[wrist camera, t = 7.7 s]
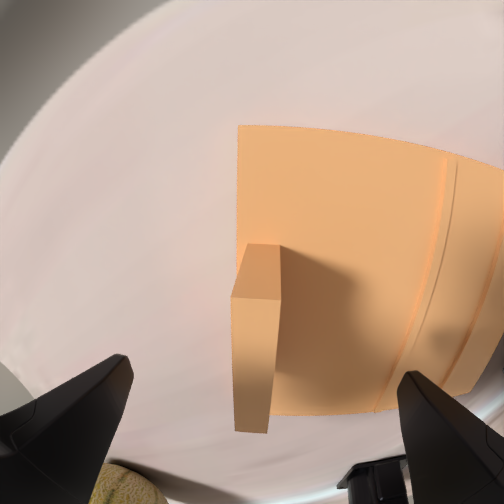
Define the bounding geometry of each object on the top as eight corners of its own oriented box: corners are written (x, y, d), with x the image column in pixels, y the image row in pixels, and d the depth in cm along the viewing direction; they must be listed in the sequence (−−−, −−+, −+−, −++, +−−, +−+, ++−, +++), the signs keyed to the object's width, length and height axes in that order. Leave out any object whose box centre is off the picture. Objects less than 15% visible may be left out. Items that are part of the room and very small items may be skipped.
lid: (463, 380, 14) (490, 430, 9) (241, 395, 15) (229, 469, 10) (528, 183, 9) (591, 205, 4) (242, 128, 10) (212, 107, 5)
